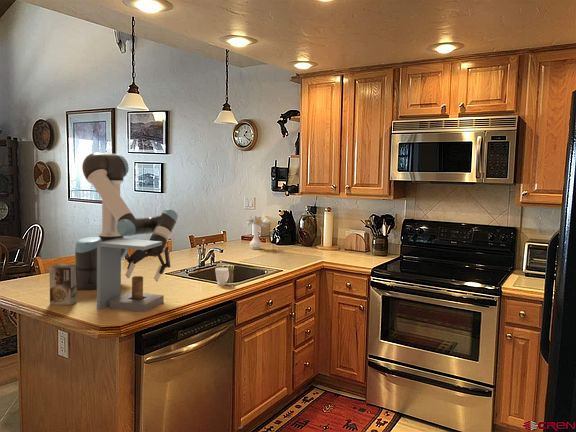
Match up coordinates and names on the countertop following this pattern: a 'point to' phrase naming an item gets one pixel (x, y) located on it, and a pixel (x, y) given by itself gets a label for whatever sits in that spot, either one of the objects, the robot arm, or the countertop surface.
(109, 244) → the grey l-shaped frame
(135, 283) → the peg
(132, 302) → the socket
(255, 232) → the flower vase
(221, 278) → the cup
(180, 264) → the countertop surface
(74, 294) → the coffee box
